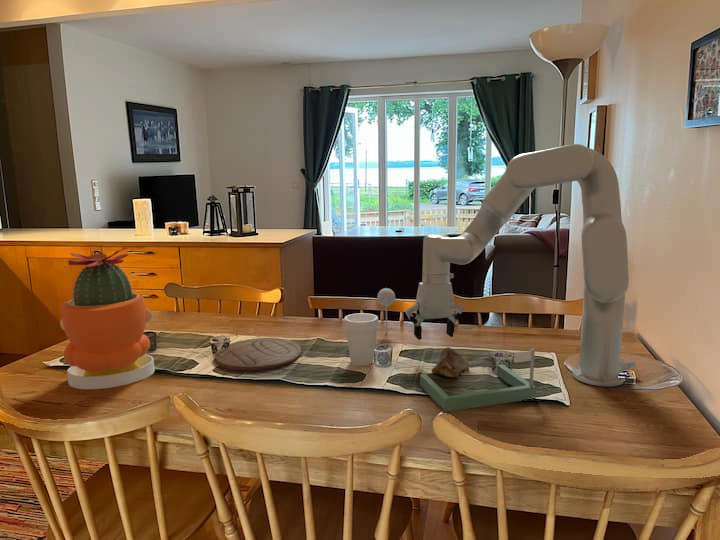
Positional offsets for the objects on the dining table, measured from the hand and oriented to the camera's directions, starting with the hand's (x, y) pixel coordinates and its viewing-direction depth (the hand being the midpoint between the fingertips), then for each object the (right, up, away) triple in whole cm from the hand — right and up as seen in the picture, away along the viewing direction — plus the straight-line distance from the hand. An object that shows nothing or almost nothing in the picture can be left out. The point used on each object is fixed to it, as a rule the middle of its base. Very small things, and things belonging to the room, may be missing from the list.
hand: (434, 336), depth 156 cm
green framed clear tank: (+7, -11, -22) cm, 25 cm away
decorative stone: (+3, -8, -8) cm, 12 cm away
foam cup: (-21, -7, -1) cm, 22 cm away
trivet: (-51, -7, +6) cm, 52 cm away
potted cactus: (-87, -10, -10) cm, 89 cm away
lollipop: (-12, -2, +26) cm, 29 cm away
